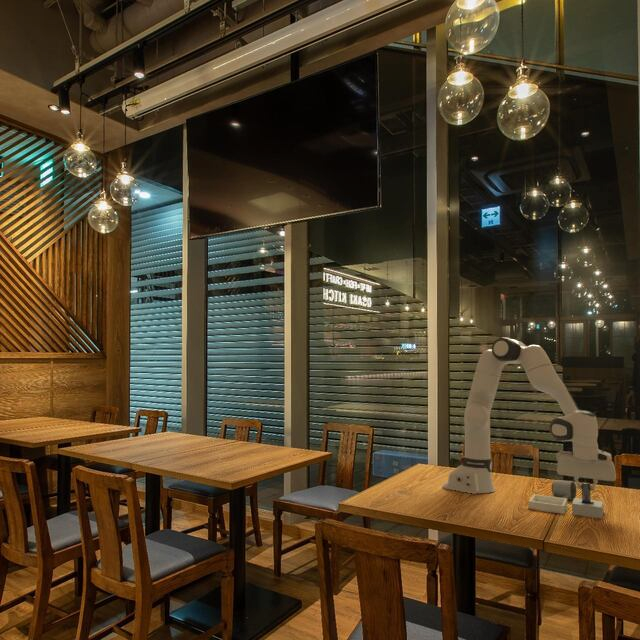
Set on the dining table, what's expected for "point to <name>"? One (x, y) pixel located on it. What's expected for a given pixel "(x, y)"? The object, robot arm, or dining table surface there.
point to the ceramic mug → (564, 489)
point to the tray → (548, 504)
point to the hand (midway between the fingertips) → (586, 489)
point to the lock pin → (586, 493)
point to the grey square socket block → (587, 508)
